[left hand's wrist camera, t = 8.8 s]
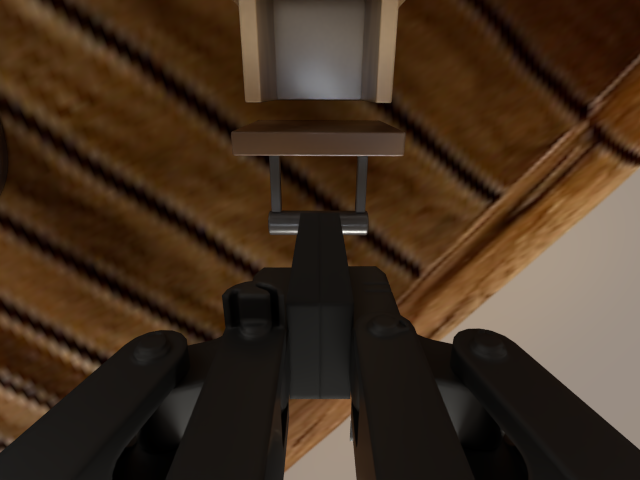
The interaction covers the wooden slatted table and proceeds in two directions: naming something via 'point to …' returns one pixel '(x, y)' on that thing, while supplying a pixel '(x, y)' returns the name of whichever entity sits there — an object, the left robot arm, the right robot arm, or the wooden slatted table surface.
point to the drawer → (318, 88)
